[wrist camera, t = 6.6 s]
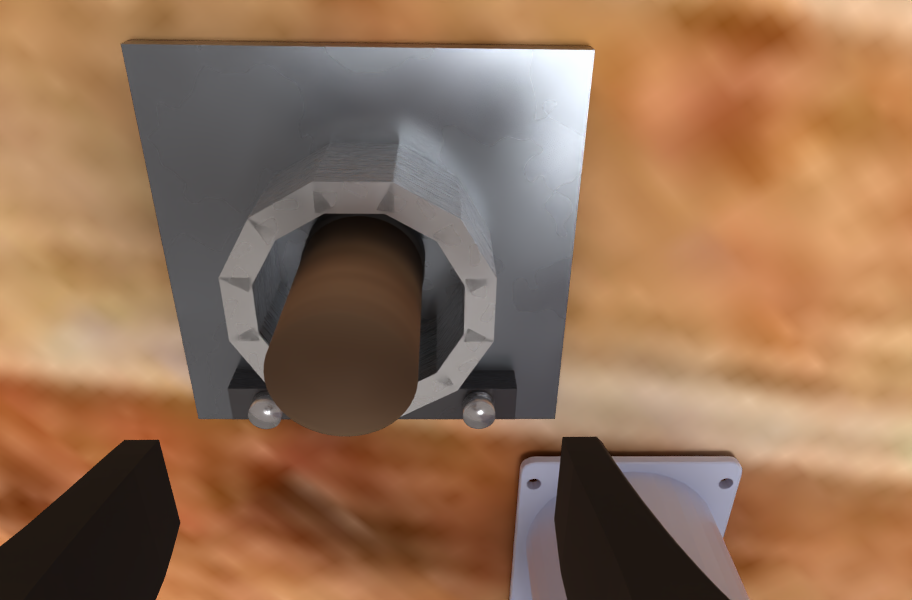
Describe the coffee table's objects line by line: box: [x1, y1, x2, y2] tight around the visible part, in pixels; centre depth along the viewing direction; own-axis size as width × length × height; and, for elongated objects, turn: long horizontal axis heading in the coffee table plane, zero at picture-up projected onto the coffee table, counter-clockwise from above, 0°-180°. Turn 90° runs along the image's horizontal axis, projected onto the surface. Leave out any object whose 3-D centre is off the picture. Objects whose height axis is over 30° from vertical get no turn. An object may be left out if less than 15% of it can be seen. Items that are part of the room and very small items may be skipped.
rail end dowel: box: [263, 213, 425, 436], centre depth 18 cm, size 4×4×6 cm
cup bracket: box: [121, 40, 595, 429], centre depth 20 cm, size 12×12×4 cm
